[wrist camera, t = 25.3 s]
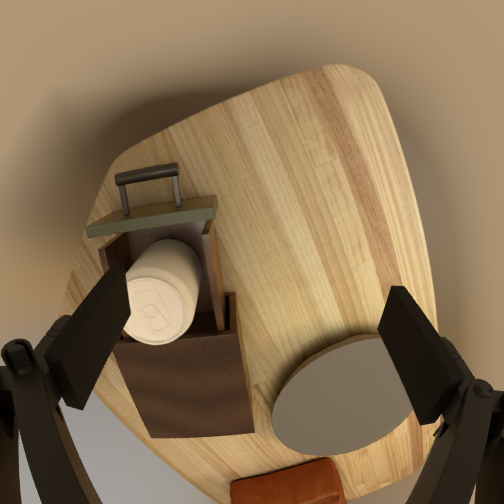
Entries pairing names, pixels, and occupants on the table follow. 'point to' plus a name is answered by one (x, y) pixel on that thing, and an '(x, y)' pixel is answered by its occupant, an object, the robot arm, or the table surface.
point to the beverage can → (163, 292)
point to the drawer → (167, 227)
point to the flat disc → (341, 399)
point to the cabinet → (191, 382)
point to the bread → (292, 486)
